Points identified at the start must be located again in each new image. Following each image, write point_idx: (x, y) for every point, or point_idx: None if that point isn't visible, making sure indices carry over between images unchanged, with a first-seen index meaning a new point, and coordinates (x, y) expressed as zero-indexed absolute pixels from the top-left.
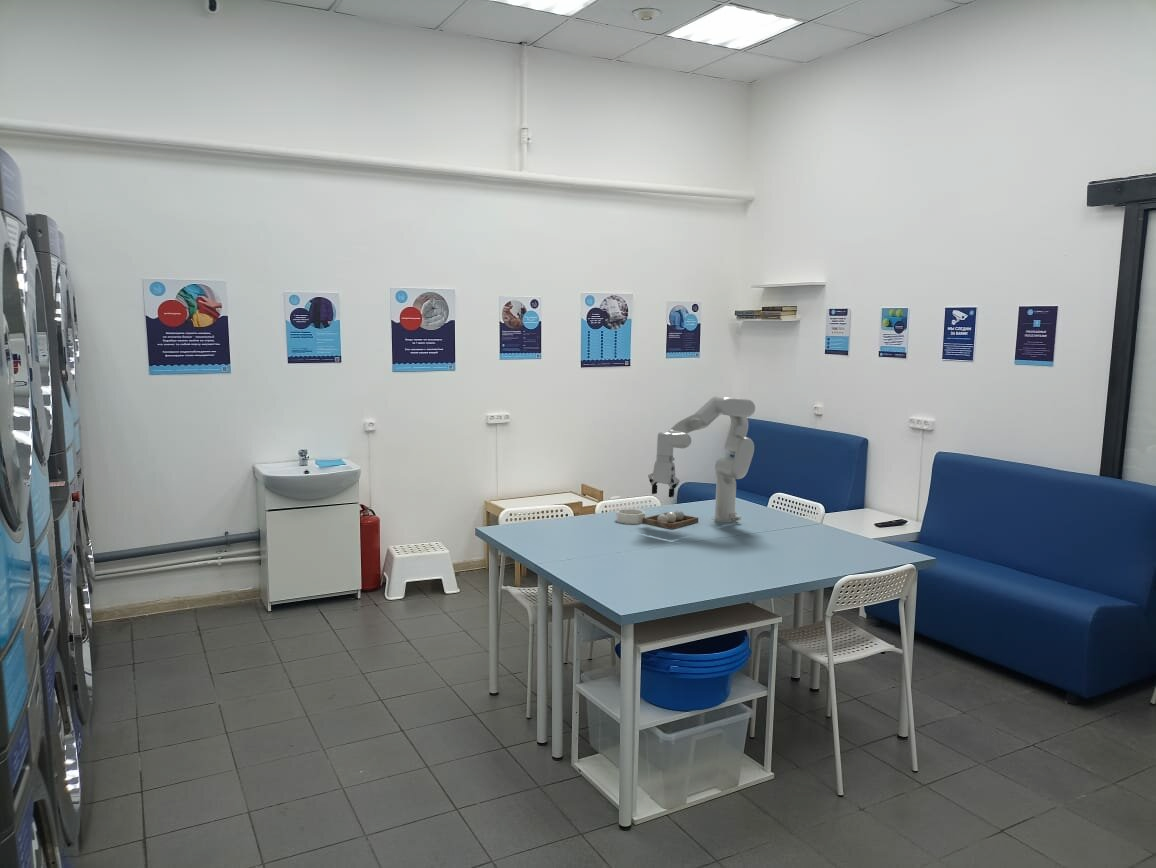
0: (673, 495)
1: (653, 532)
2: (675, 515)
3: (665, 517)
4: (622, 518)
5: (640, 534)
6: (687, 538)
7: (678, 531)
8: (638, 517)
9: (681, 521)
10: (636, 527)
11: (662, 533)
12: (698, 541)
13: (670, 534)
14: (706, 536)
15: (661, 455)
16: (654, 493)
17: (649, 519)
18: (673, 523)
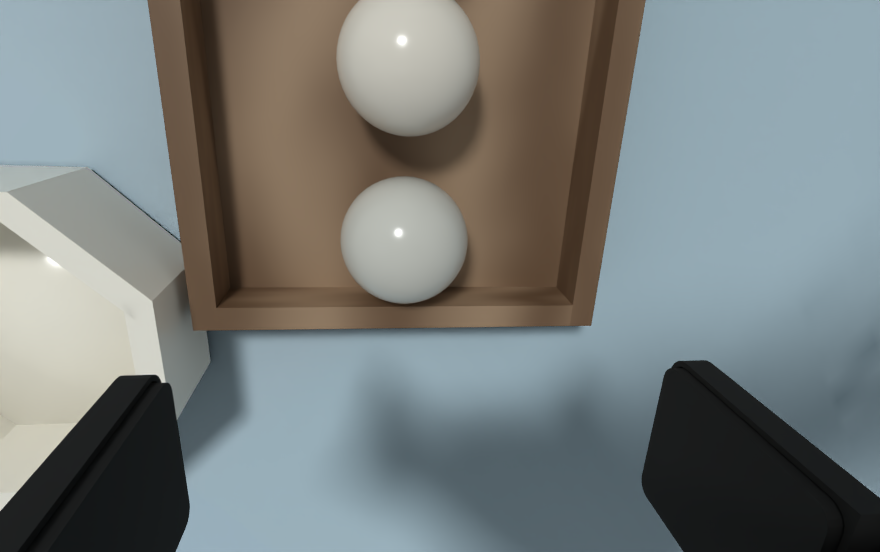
0: (714, 381)
1: (468, 430)
2: (474, 38)
3: (460, 266)
4: None
5: (432, 533)
6: (758, 384)
7: (610, 256)
8: (183, 397)
9: (604, 136)
10: (253, 408)
11: (539, 404)
12: (851, 393)
13: (604, 384)
14: (870, 227)
15: None
16: (183, 476)
17: (286, 323)
18: (580, 283)
